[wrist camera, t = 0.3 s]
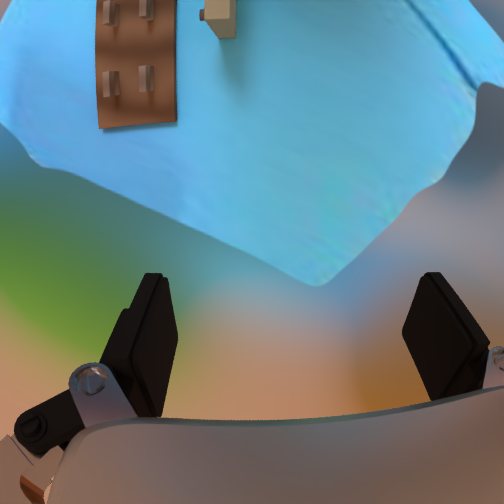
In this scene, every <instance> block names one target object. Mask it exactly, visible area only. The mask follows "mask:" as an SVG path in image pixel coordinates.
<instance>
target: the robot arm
mask: <svg viewBox="0 0 504 504" xmlns="http://www.w3.org/2000/svg"><path fill="white" fill-rule="evenodd" d="M402 336H403V339H404V341H405V343H406V345H407V347H408V349H409V352H410V354H411V356H412V358H413V360H414V362H415V365H416V367H417V369H418V372H419V374H420V376H421V379H422V381H423V383H424V385H425V388H426V390H427V392H428V395H429V397H430V400H431V401H429V402H425V403H420V404H415V405H409V406H404V407H398V408H392V409H387V410H380V411H374V412H367V413H358V414H350V415H341V416H331V417H319V418H306V419H289V420H252V421H251V420H240V421H239V420H201V419H182V418H158V417H161V416H162V412H163V407H164V402H165V397H166V393H167V388H168V383H169V378H170V373H171V369H172V365H173V360H174V356H175V351H176V347H177V342H178V332H177V327H176V322H175V316H174V311H173V305H172V301H171V294H170V288H169V282H168V279H167V278H166V277H163V275H162V274H161V273H146V274H145V275H144V277H143V279H142V281H141V283H140V286H139V288H138V290H137V292H136V294H135V296H134V299H133V301H132V303H131V305H130V308H129V309H126V308H125V309H123V311H122V312H121V314H120V316H119V318H118V320H117V322H116V325H115V327H114V329H113V332H112V334H111V336H110V338H109V340H108V343H107V345H106V347H105V350H104V352H103V354H102V357H101V359H100V362H99V363H96V362H95V363H87V364H83V365H81V366H80V367H78V368H77V369H76V370H75V371H74V372H73V373H72V374H71V376H70V378H69V383H68V385H69V389H68V390H66V391H64V392H62V393H60V394H58V395H56V396H54V397H53V398H51V399H49V400H47V401H45V402H43V403H41V404H39V405H37V406H35V407H33V408H31V409H29V410H27V411H25V412H24V413H22V414H21V415H20V416H19V417H18V419H17V421H16V423H15V426H14V434H13V435H12V436H11V437H10V436H9V435H6V437H4V438H3V439H2V440H1V441H0V504H45V502H44V498H43V497H44V491H45V489H46V488H47V487H48V486H49V485H50V484H51V483H52V486H51V489H50V493H49V497H48V501H47V504H504V347H501V346H496V347H493V348H492V349H491V350H490V351H489V349H488V345H489V344H490V341H489V340H488V338H487V336H486V335H485V334H484V332H483V330H482V329H481V327H480V326H479V324H478V323H477V322H476V320H475V319H474V317H473V316H472V314H471V313H470V312H469V310H468V309H467V307H466V306H465V305H464V303H463V302H462V300H461V299H460V298H459V296H458V295H457V294H456V292H455V291H454V290H453V288H452V287H451V286H450V284H449V283H448V282H447V281H446V279H445V278H444V277H443V276H442V274H441V273H440V272H427V273H425V274H424V276H422V277H421V278H420V281H419V284H418V287H417V290H416V293H415V296H414V299H413V302H412V304H411V307H410V310H409V313H408V315H407V318H406V321H405V323H404V326H403V329H402ZM54 475H55V476H54ZM53 476H54V479H53V481H52V480H51V478H52V477H53Z"/></svg>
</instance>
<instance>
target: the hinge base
mask: <svg viewBox="0 0 504 504" xmlns="http://www.w3.org/2000/svg"><path fill="white" fill-rule="evenodd" d="M176 6H177V0H97V5H96V30H95V68H96V95H97V111H98V124H99V129H103V128H110V127H118V126H127V125H137V124H148V123H160V122H174V121H177V102H176Z"/></svg>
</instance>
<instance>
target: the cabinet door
mask: <svg viewBox="0 0 504 504" xmlns="http://www.w3.org/2000/svg"><path fill="white" fill-rule="evenodd" d="M236 1H237V0H205V9H201V10H200V13H199V16H200V21H204V20H205V21H206V22H207V24H208V25H209V26H210V28H211V29H212V31H213V32H214V33H215V35H216V36H217V37H218V39H227V38H236Z"/></svg>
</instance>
